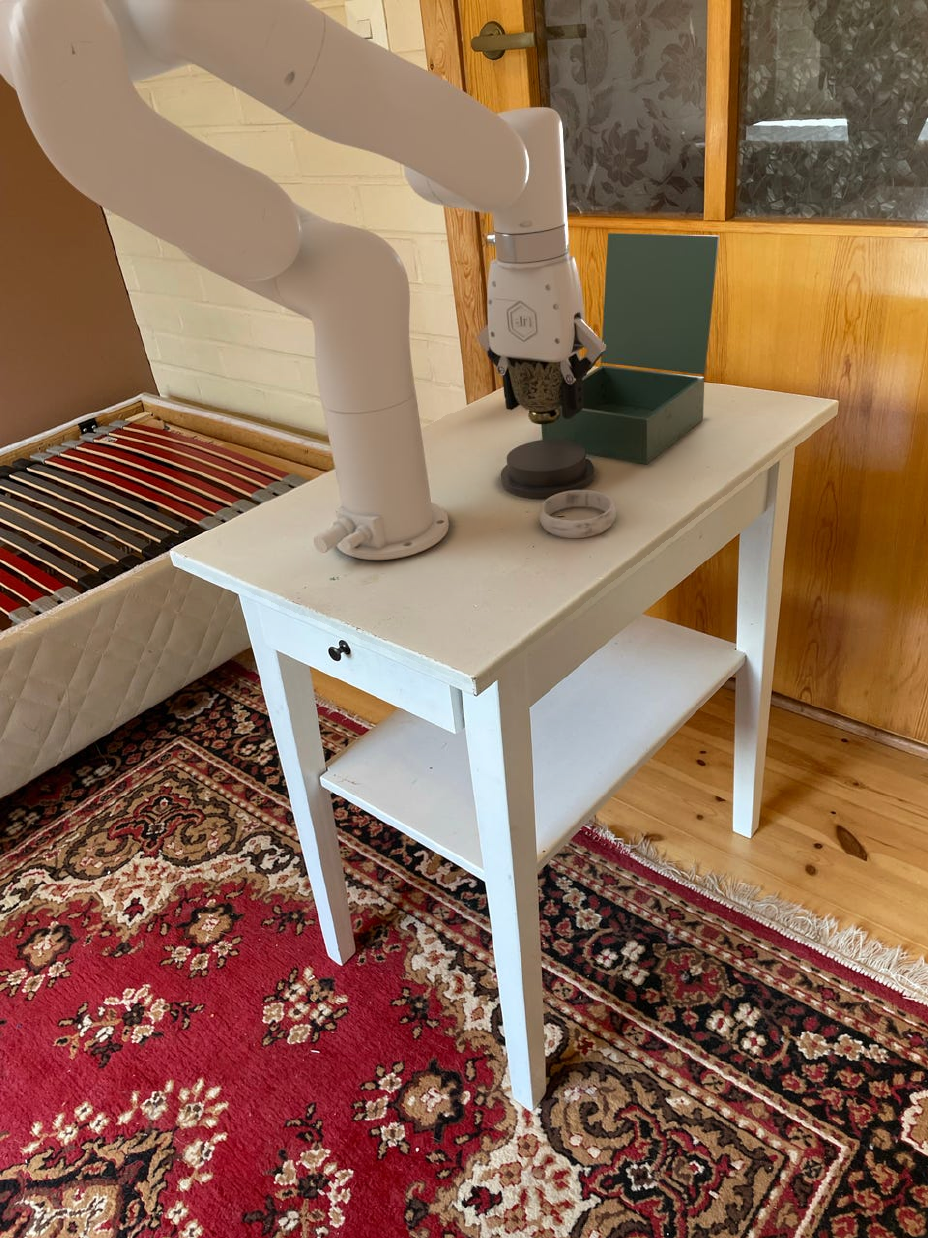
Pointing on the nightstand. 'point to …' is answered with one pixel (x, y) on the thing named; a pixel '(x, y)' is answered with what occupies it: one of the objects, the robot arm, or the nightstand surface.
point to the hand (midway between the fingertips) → (543, 408)
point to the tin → (631, 413)
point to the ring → (580, 526)
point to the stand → (546, 469)
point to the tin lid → (659, 300)
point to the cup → (537, 388)
